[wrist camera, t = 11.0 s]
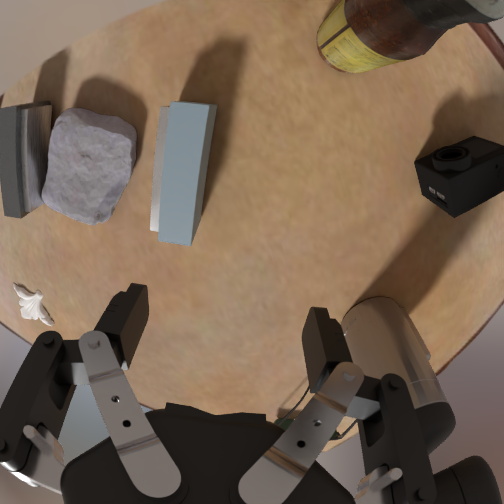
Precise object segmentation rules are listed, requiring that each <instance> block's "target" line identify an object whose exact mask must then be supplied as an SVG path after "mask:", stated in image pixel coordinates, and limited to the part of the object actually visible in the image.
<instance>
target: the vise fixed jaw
mask: <svg viewBox="0 0 504 504" xmlns="http://www.w3.org/2000/svg"><path fill="white" fill-rule="evenodd" d="M51 117H52V105H50V101H41V102H32V103H26V104H20V105H15V106H10V107H5V108H0V182H1V192H2V200H3V207H4V214H5V216H9V217H15V218H23V217H24V216H25V215H27V214H28V213H30V212H32V211H33V210H35V209H36V208H38V207H39V206H41V205H42V204H43V203H45V202H44V201H43V199H42V190H43V187H44V184H45V181H46V175H47V171H48V161H49V160H48V152H49V144H50V137H51Z"/></svg>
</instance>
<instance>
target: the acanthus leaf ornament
mask: <svg viewBox="0 0 504 504" xmlns="http://www.w3.org/2000/svg"><path fill="white" fill-rule="evenodd" d="M13 286H14V288H15V291H16V293H17V294H18V295H19V296H20V297H21V299H20V301H19V304H20V305H21V306H22V307H21V308H20V311H21V314H22V317H23V318H26V319H31V318H32V317H33V319H34V320H37V319H38V317H39V318H40V319H41V320H42V321H43V322H44V323H45V324H47V325H50V326H54V322H53V321H52V320H51V318H50V317H49V316H48V313H47V312H46V310H45V309H44V308H43V306H42V303H41V299H42V298H43V295H42V293H41V292H40V291H39V290H37V291H36V293H35V294H31V293H29V292H28V291H26V290H25V289H24V288H23V287H22V288H21V287H19V286H17V285H16V284H15V283H13Z"/></svg>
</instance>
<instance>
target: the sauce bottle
mask: <svg viewBox="0 0 504 504" xmlns="http://www.w3.org/2000/svg"><path fill="white" fill-rule="evenodd" d="M503 16H504V0H341V2H340V3H339V4H338V5H337V6H336V8H335V9H334V10H333V11H332V12H331V14H330V15H329V16H328V17H327V18H326V20H325V21H324V22H323V23H322V25H321V26H320V29H319V30H318V32H317V47H318V52H319V54H320V56H321V57H322V59H323V60H324V61H325V62H326V63H327V64H329V65H330V66H331V67H333V68H334V69H336V70H338V71H340V72H347V73H362V72H366V71H370V70H373V69H376V68H379V67H383V66H386V65H390V64H394V63H398V62H402V61H406V60H409V59H413V58H416V57H418V56H420V55H424V54H425V53H426V52H427V51H428V50H429V49H430V48H431V47H432V46H433V45H434V44H435V42H436V41H437V40H438V39H439V38H440V37H441V36H442V35H443V34H444V33H445V32H446V31H447V30H448V29H451V28H454V27H455V26H456V25H459V24H463V23H468V22H474V23H483V24H485V23H488V22H491V21H495V20H498V19H501V18H503Z"/></svg>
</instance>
